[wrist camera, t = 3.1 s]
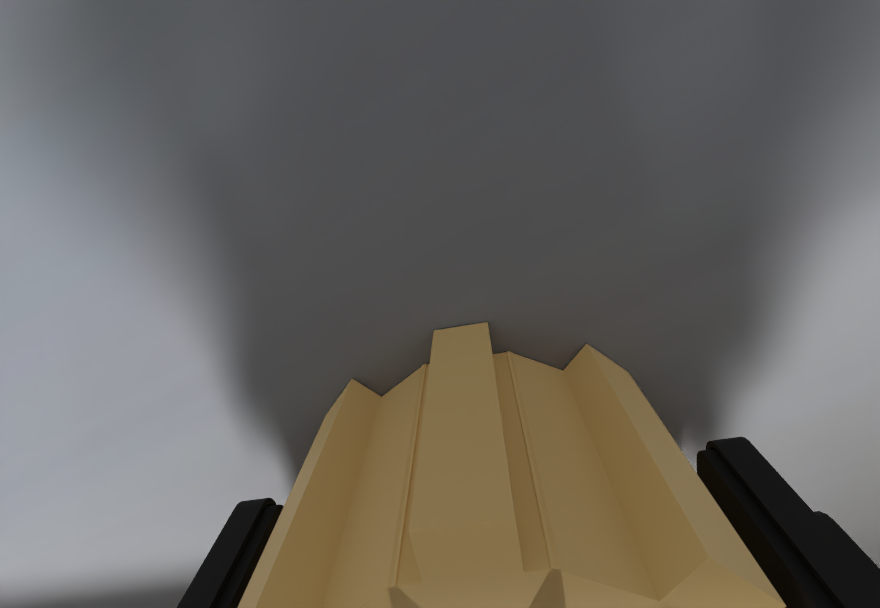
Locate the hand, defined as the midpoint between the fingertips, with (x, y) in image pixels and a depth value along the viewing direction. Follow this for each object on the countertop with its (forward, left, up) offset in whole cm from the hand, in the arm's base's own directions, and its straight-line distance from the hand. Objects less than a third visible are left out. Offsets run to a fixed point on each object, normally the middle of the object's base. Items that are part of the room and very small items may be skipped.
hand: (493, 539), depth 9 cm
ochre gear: (0, 0, -1) cm, 1 cm away
